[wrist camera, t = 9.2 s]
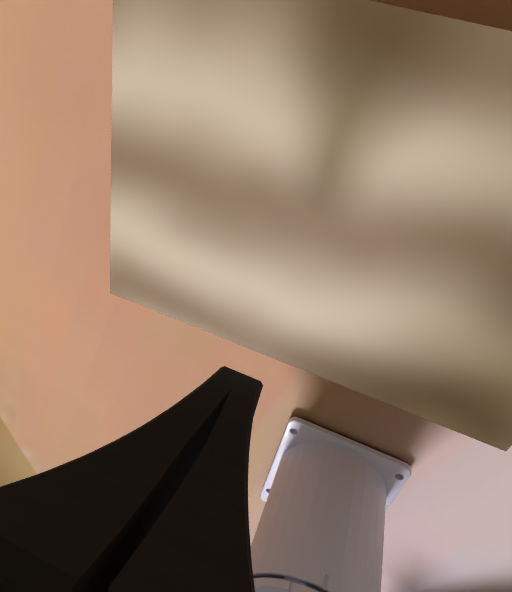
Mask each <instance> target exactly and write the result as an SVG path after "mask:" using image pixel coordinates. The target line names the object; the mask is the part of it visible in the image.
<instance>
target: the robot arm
mask: <svg viewBox="0 0 512 592" xmlns="http://www.w3.org/2000/svg"><path fill="white" fill-rule="evenodd" d="M262 387H263V385H262V383H261V381H259V380H256V379H254V378H252V377H249V376H247V375H244V374H242V373H239V372H237V371H235V370H232V369H230V368H227V367H225V366H224V367H221V368H220V369H219V370H218V371H217V372H216V373H214V374H213V375H212V376H211V377H210V378H209V379H208V380H206V381H205V382H204V383H203V384H201V385H200V386H199V387H198V388H196V389H195V390H194V391H193V392H191V393H190V394H189V395H187V396H186V397H184V398H183V399H182V400H180V401H179V402H178V403H176V404H175V405H173V406H172V407H171V408H169V409H168V410H166V411H164V412H163V413H161V414H160V415H158V416H157V417H155V418H154V419H152V420H151V421H149V422H147V423H146V424H144V425H142V426H141V427H139V428H137V429H136V430H134V431H132V432H130V433H128V434H127V435H125V436H123V437H121V438H119V439H117V440H115V441H113V442H111V443H109V444H107V445H105V446H103V447H101V448H99V449H97V450H95V451H93V452H91V453H89V454H86V455H84V456H82V457H80V458H77V459H75V460H72V461H70V462H67V463H65V464H63V465H60V466H58V467H55V468H53V469H50V470H48V471H45V472H43V473H40V474H37V475H34V476H31V477H29V478H25V479H23V480H20V481H16V482H14V483H10V484H7V485H4V486H2V487H0V592H381V578H382V560H383V542H384V524H385V510H386V508H387V507H388V506H389V504H390V503H391V501H392V500H393V499H394V497H395V496H396V495H397V493H398V492H399V490H400V489H401V488H402V486H403V485H404V483H405V482H406V481H407V479H408V478H409V477H410V475H411V467H410V465H409V464H407V463H405V462H403V461H400V460H398V459H396V458H393V457H391V456H388V455H386V454H384V453H381V452H379V451H377V450H374V449H372V448H370V447H367V446H365V445H362V444H360V443H358V442H355V441H353V440H351V439H348V438H346V437H344V436H341V435H339V434H337V433H334V432H332V431H329V430H327V429H325V428H322V427H320V426H318V425H315V424H313V423H311V422H308V421H306V420H303V419H301V418H299V417H291V418H290V419H289V422H288V425H287V427H286V430H285V432H284V435H283V438H282V440H281V443H280V445H279V448H278V450H277V453H276V456H275V458H274V461H273V463H272V466H271V469H270V471H269V474H268V476H267V479H266V481H265V484H264V487H263V489H262V492H261V495H260V497H261V499H262V500H263V501H265V502H266V504H265V507H264V509H263V512H262V515H261V518H260V521H259V524H258V527H257V530H256V533H255V536H254V539H253V542H252V545H251V546H250V534H249V517H248V463H249V447H250V438H251V429H252V422H253V416H254V413H255V410H256V406H257V403H258V400H259V397H260V393H261V390H262ZM292 428H293V429H292ZM294 429H296V430H294ZM399 474H401V475H399Z"/></svg>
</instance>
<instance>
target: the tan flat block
mask: <svg viewBox="0 0 512 592" xmlns="http://www.w3.org/2000/svg"><path fill="white" fill-rule="evenodd" d="M110 293H111V294H114V295H116V296H119V297H121V298H124V299H126V300H129V301H131V302H134V303H136V304H139V305H141V306H144V307H146V308H149V309H151V310H154V311H156V312H159V313H161V314H164V315H166V316H169V317H171V318H174V319H176V320H179V321H181V322H184V323H186V324H189V325H191V326H194V327H196V328H199V329H201V330H204V331H206V332H209V333H211V334H214V335H216V336H219V337H221V338H224V339H226V340H229V341H231V342H234V343H236V344H239V345H241V346H244V347H246V348H249V349H251V350H254V351H256V352H259V353H261V354H264V355H266V356H269V357H271V358H274V359H276V360H279V361H281V362H284V363H286V364H289V365H291V366H294V367H296V368H299V369H301V370H304V371H306V372H309V373H311V374H314V375H316V376H319V377H321V378H324V379H326V380H329V381H331V382H334V383H336V384H339V385H341V386H344V387H346V388H349V389H351V390H354V391H356V392H359V393H361V394H364V395H366V396H369V397H371V398H374V399H376V400H379V401H381V402H384V403H386V404H389V405H391V406H394V407H396V408H399V409H401V410H404V411H406V412H409V413H411V414H414V415H416V416H419V417H421V418H424V419H426V420H429V421H431V422H434V423H436V424H439V425H441V426H444V427H446V428H449V429H451V430H454V431H456V432H459V433H461V434H464V435H466V436H469V437H471V438H474V439H476V440H479V441H481V442H484V443H486V444H489V445H491V446H494V447H496V448H499V449H501V450H504V451H507V450H508V449H509V448H510V446H511V445H512V31H509V30H504V29H499V28H495V27H490V26H486V25H481V24H477V23H472V22H467V21H463V20H458V19H454V18H449V17H445V16H440V15H435V14H431V13H426V12H422V11H417V10H413V9H408V8H403V7H399V6H394V5H390V4H385V3H381V2H376V1H371V0H113V38H112V140H111V242H110Z"/></svg>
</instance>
